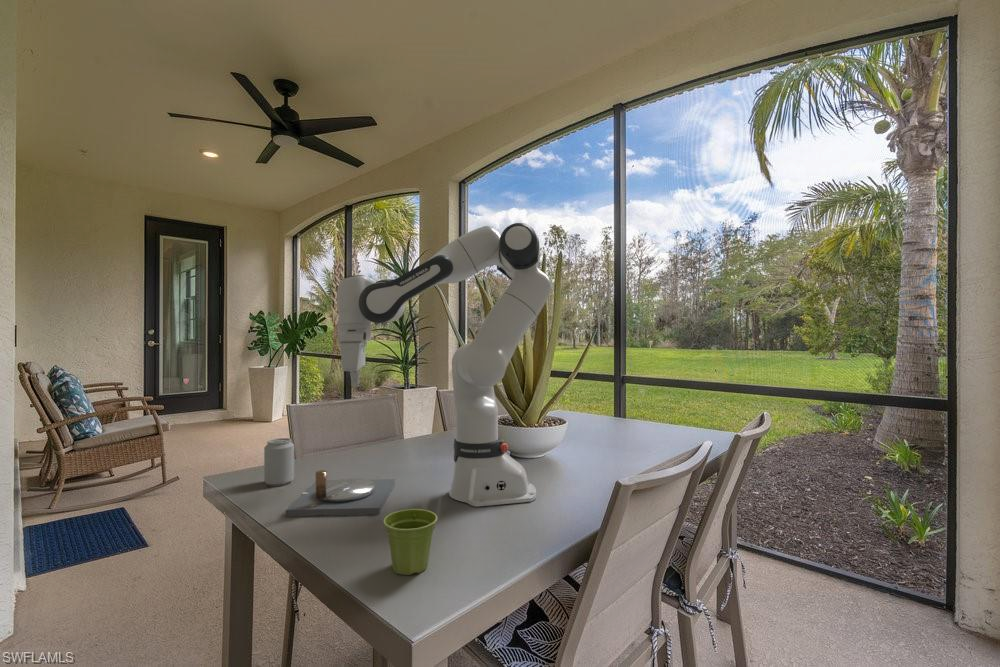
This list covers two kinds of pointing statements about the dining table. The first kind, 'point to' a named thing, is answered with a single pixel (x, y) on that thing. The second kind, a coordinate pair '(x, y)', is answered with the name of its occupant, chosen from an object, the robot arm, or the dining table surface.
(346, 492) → the dial
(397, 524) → the plant pot
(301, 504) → the dial plate
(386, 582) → the dining table surface
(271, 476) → the can
